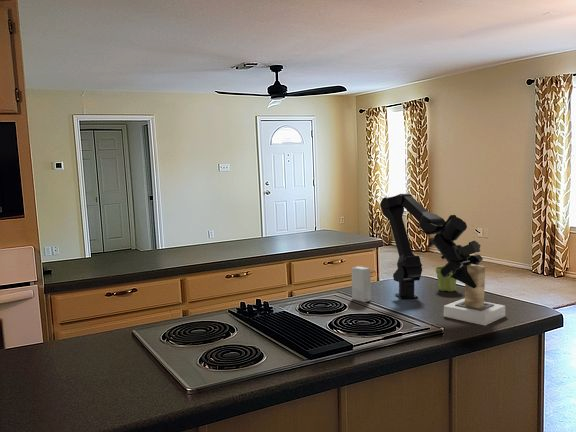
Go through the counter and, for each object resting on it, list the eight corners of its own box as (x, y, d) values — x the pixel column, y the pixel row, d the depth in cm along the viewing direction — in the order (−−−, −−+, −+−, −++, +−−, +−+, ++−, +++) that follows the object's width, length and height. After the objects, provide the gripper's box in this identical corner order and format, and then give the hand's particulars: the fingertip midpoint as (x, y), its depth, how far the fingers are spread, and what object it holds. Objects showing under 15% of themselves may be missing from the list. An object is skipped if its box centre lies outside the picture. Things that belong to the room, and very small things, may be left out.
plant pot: (429, 288, 205) (429, 267, 204) (447, 286, 209) (448, 265, 208) (445, 293, 197) (446, 271, 196) (464, 291, 200) (464, 269, 200)
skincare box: (371, 300, 188) (371, 267, 187) (363, 302, 185) (363, 269, 184) (359, 297, 193) (359, 265, 191) (350, 299, 190) (350, 267, 189)
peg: (464, 305, 166) (465, 266, 165) (471, 303, 169) (472, 264, 168) (477, 308, 163) (478, 267, 162) (484, 305, 166) (485, 266, 165)
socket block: (443, 316, 167) (443, 304, 166) (464, 308, 176) (464, 296, 176) (485, 325, 157) (485, 313, 156) (505, 316, 166) (505, 304, 166)
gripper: (449, 236, 161) (482, 275, 154) (478, 230, 173) (509, 267, 166) (427, 257, 167) (457, 297, 160) (456, 250, 180) (485, 287, 173)
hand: (478, 286), depth 165 cm, fingers closed on peg, 4 cm apart
